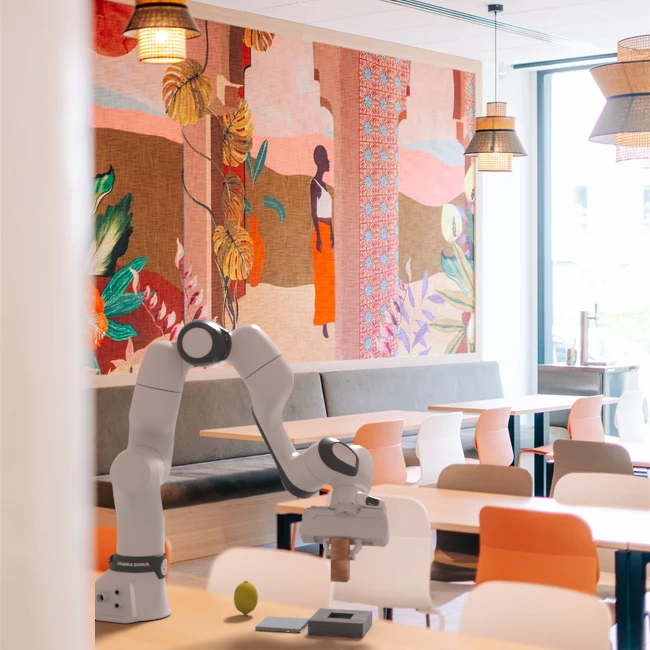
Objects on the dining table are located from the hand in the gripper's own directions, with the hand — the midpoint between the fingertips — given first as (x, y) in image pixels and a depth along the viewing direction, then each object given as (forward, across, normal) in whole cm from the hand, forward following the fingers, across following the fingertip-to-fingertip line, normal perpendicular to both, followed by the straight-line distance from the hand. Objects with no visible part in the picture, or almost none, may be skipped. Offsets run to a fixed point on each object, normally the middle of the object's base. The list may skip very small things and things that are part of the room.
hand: (339, 558), depth 233 cm
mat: (+11, -13, +12) cm, 20 cm away
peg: (+3, 0, +4) cm, 5 cm away
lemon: (+5, -24, +18) cm, 30 cm away
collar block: (+11, 0, +12) cm, 16 cm away
